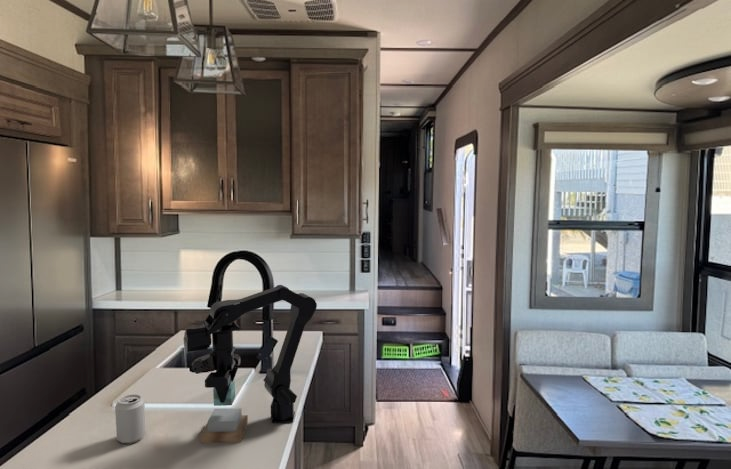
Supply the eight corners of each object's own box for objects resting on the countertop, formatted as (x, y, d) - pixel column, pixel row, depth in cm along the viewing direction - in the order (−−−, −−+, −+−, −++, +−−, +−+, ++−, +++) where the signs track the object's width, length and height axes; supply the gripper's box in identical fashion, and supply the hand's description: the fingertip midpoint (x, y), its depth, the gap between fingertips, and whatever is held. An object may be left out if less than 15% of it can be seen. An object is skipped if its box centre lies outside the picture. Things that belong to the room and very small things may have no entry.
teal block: (235, 397, 147) (234, 381, 147) (231, 405, 142) (231, 388, 142) (218, 398, 147) (217, 381, 146) (213, 405, 142) (213, 389, 142)
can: (134, 446, 138) (132, 405, 137) (110, 443, 139) (108, 402, 138) (151, 433, 145) (149, 393, 144) (128, 430, 147) (126, 391, 145)
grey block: (241, 417, 150) (241, 408, 149) (236, 431, 142) (236, 421, 141) (214, 418, 149) (214, 408, 149) (207, 431, 141) (207, 421, 141)
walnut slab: (247, 424, 152) (247, 415, 151) (240, 443, 141) (240, 433, 140) (211, 425, 151) (210, 416, 151) (201, 444, 140) (200, 434, 140)
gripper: (203, 336, 152) (204, 385, 153) (184, 358, 133) (186, 414, 135) (240, 335, 152) (241, 384, 154) (226, 357, 134) (228, 413, 135)
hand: (224, 398), depth 145 cm, fingers closed on teal block, 5 cm apart
